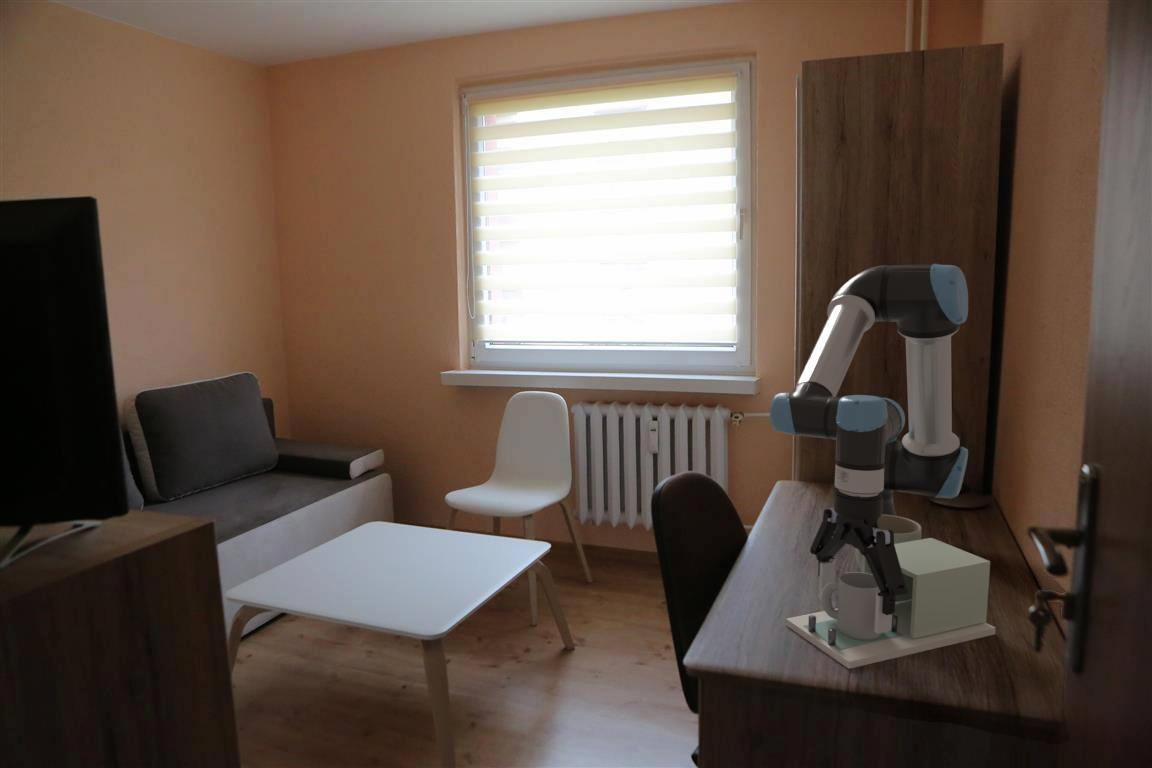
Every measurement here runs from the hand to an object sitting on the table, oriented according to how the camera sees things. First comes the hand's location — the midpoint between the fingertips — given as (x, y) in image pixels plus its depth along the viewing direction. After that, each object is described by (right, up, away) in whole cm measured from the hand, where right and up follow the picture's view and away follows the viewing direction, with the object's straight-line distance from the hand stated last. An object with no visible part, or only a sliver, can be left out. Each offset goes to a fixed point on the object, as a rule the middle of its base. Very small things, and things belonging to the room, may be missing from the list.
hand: (853, 613), depth 127 cm
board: (+7, -4, +3) cm, 9 cm away
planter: (+16, -1, +27) cm, 31 cm away
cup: (0, -3, +1) cm, 3 cm away
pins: (0, -3, 0) cm, 3 cm away
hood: (+14, -2, +6) cm, 15 cm away
